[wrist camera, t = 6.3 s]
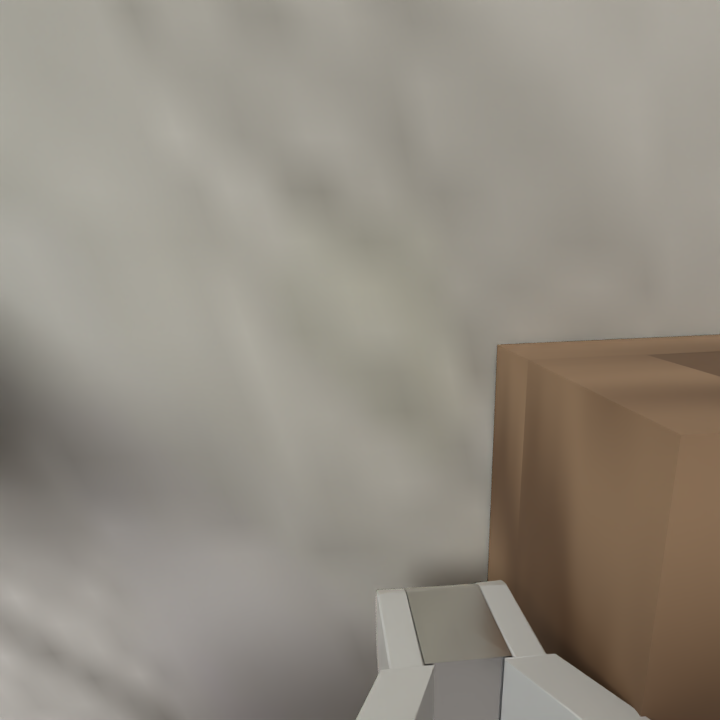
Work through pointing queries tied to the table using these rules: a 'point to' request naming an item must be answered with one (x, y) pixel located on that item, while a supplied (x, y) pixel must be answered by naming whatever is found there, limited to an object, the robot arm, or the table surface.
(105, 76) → the table surface
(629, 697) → the block
